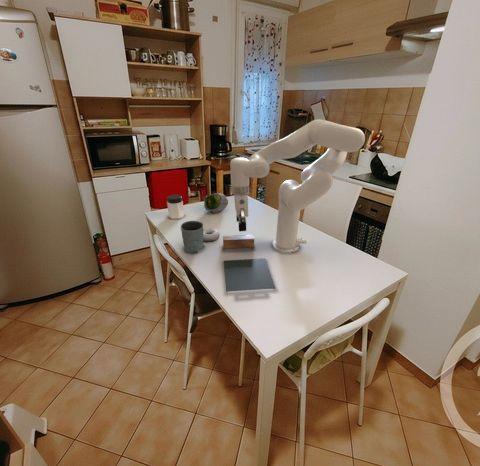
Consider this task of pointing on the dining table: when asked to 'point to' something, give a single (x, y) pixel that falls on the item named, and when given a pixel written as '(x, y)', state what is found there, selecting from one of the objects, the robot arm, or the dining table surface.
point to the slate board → (247, 275)
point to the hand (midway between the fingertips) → (241, 225)
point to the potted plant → (215, 202)
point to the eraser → (238, 242)
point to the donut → (210, 234)
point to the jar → (175, 206)
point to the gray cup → (192, 236)
